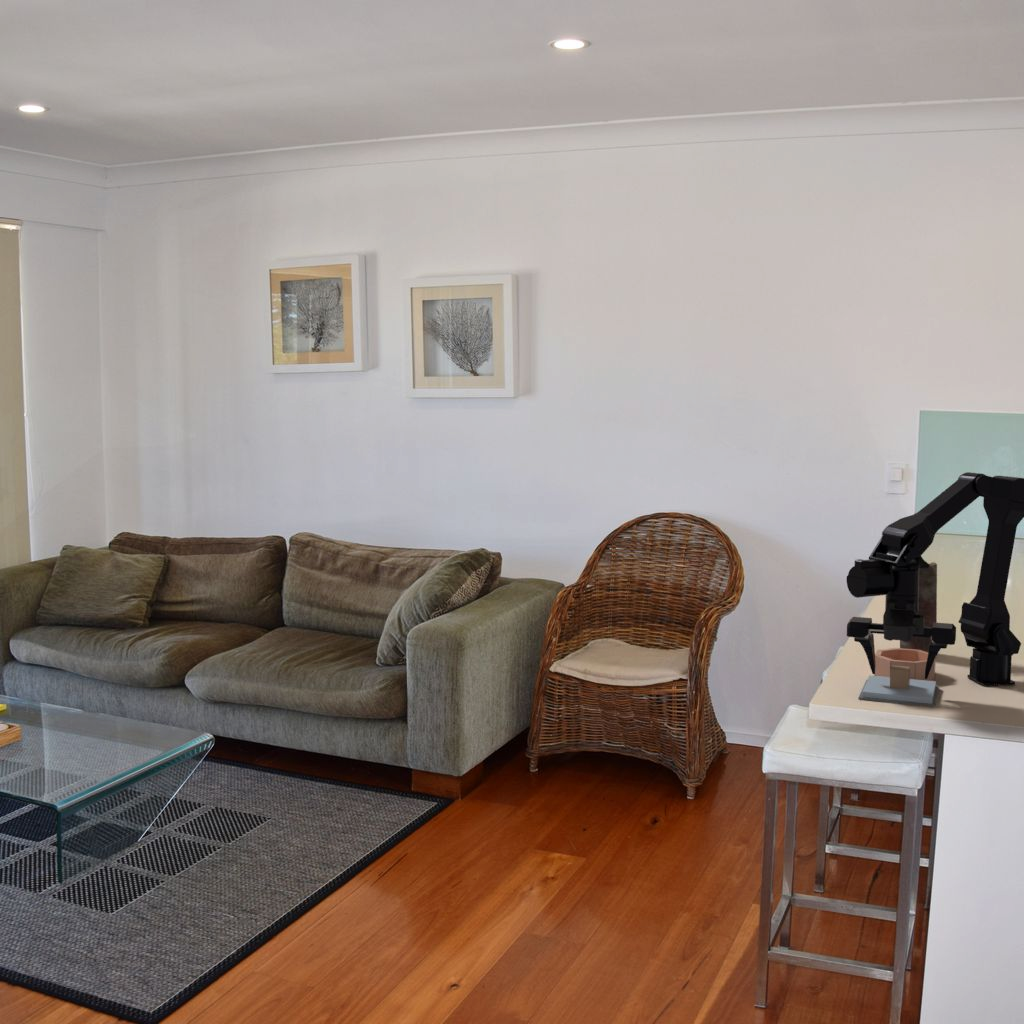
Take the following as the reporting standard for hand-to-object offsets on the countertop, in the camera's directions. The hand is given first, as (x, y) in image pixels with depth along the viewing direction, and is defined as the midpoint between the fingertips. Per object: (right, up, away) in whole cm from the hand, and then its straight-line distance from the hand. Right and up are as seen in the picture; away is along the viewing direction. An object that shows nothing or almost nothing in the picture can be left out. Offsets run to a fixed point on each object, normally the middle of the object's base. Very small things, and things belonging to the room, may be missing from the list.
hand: (899, 675), depth 206 cm
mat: (0, -3, 0) cm, 3 cm away
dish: (+6, -2, +13) cm, 14 cm away
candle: (+14, 0, +29) cm, 32 cm away
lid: (0, -3, 0) cm, 3 cm away
